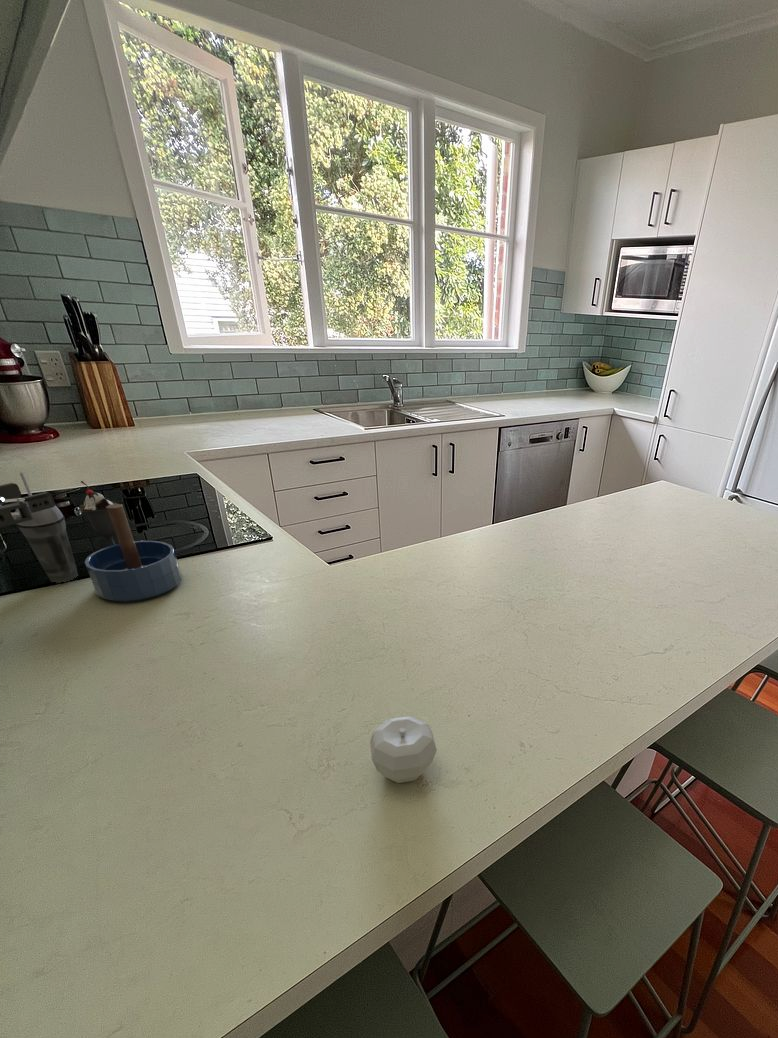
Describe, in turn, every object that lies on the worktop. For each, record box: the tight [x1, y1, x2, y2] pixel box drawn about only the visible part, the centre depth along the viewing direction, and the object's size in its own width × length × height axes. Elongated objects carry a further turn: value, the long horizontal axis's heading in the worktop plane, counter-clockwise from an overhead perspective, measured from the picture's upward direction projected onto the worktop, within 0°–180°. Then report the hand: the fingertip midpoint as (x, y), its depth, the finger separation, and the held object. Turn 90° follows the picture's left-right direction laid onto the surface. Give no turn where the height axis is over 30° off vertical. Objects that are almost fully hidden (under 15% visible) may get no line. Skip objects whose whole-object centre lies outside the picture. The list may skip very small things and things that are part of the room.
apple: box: [369, 715, 438, 784], centre depth 63 cm, size 8×8×7 cm
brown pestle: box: [107, 503, 146, 570], centre depth 99 cm, size 4×4×15 cm
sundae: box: [78, 480, 118, 547], centre depth 112 cm, size 7×7×15 cm
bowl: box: [84, 540, 183, 603], centre depth 101 cm, size 14×14×6 cm
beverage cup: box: [14, 471, 79, 584], centre depth 100 cm, size 7×7×20 cm
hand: (34, 494), depth 83 cm, fingers open, 8 cm apart
